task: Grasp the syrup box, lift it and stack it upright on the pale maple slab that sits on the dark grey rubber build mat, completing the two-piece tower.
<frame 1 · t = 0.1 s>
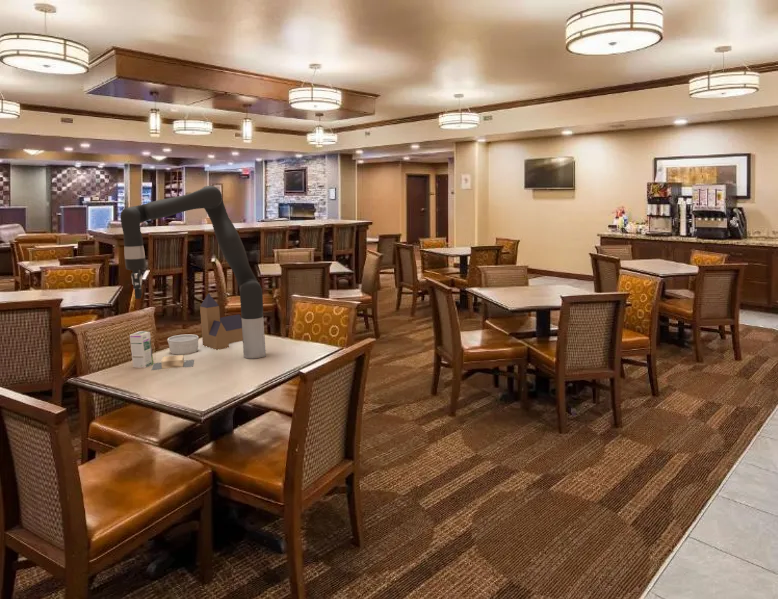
hand: (138, 297, 241), 29 cm above the table, fingers open, 8 cm apart
syrup box: (143, 367, 244), on the table
maple slab: (173, 365, 243), point 1 cm above the table, touching build mat
ramekin: (184, 353, 266), on the table
toy church: (227, 344, 281), on the table
build mat: (173, 366, 244), on the table
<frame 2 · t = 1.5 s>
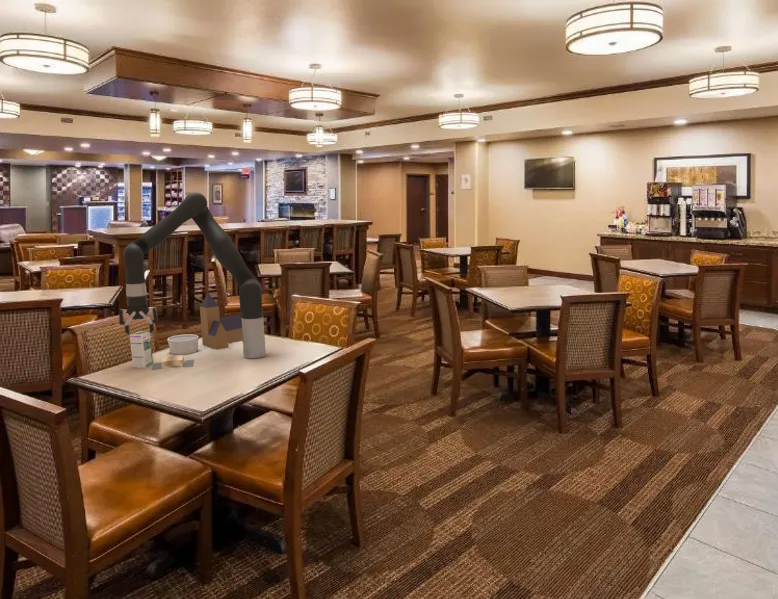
hand: (139, 333, 242), 14 cm above the table, fingers open, 8 cm apart
nothing on the table moved.
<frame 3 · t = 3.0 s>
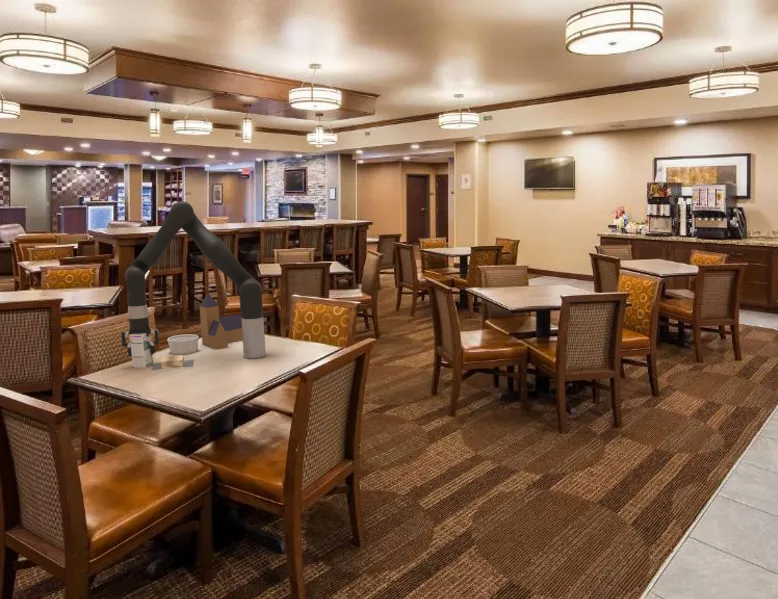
hand: (142, 355, 243), 5 cm above the table, fingers closed on syrup box, 7 cm apart
syrup box: (143, 367, 244), on the table, touching gripper
everything else where it was.
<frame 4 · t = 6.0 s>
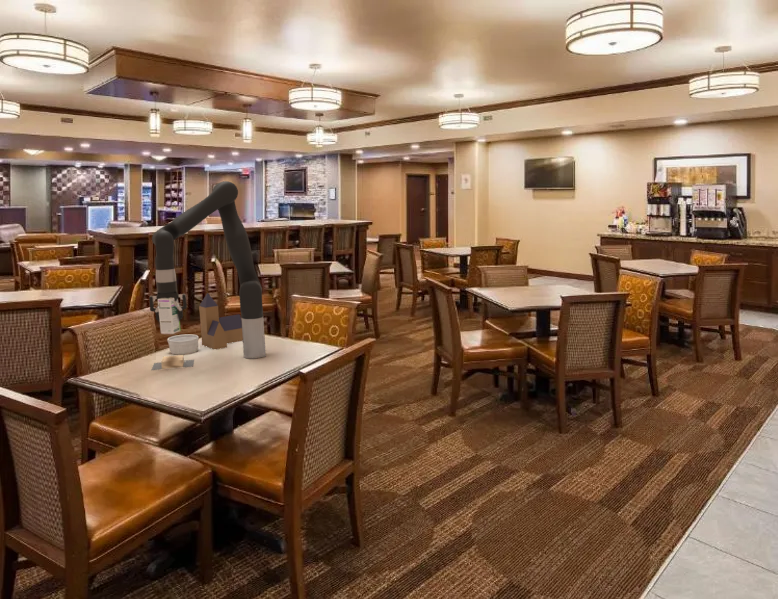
hand: (169, 320, 240), 19 cm above the table, fingers closed on syrup box, 7 cm apart
syrup box: (170, 332, 241), point 14 cm above the table, touching gripper
everything else where it was.
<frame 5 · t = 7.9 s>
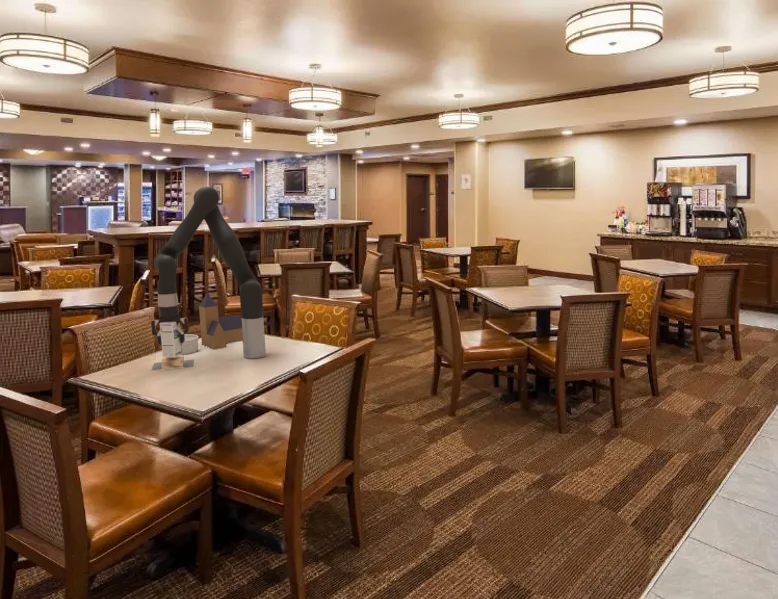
hand: (171, 343, 242), 10 cm above the table, fingers closed on syrup box, 7 cm apart
syrup box: (172, 356, 243), point 4 cm above the table, touching gripper
everything else where it was.
when the fingers open (10 cm above the table, at t = 8.8 s): syrup box drops 1 cm, resting on maple slab.
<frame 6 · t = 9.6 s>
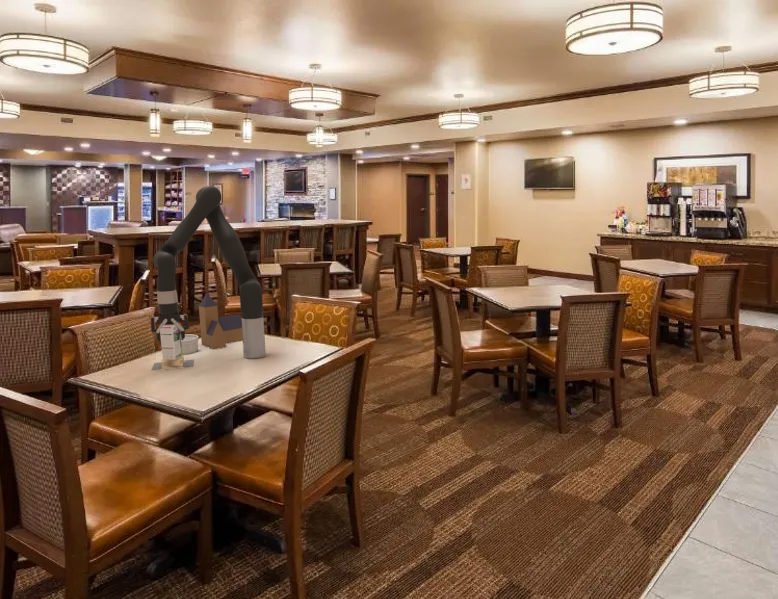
hand: (171, 340, 241), 11 cm above the table, fingers open, 8 cm apart
syrup box: (172, 358, 243), point 3 cm above the table, touching gripper, maple slab
maple slab: (173, 365, 243), point 1 cm above the table, touching build mat, syrup box
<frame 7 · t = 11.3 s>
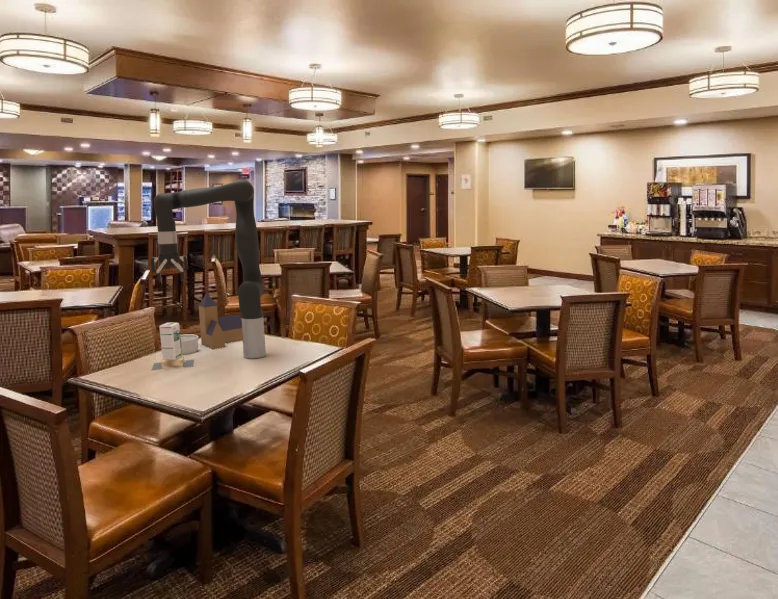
hand: (171, 281, 247), 34 cm above the table, fingers open, 8 cm apart
syrup box: (172, 358, 243), point 3 cm above the table, touching maple slab
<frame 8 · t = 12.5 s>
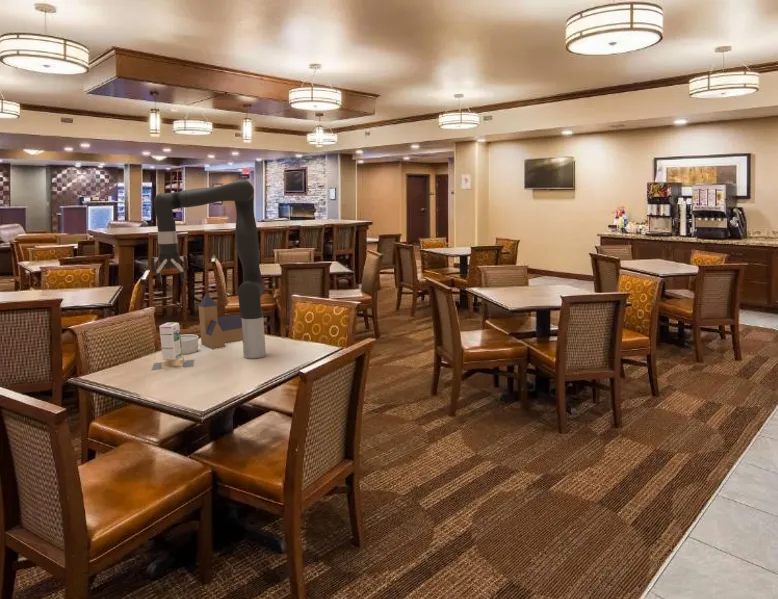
hand: (171, 281, 247), 34 cm above the table, fingers open, 8 cm apart
at the end: syrup box 0.1 cm off-centre on the maple slab, point 2.8 cm above the maple slab's base; syrup box tilted 0°; the gripper is holding nothing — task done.
